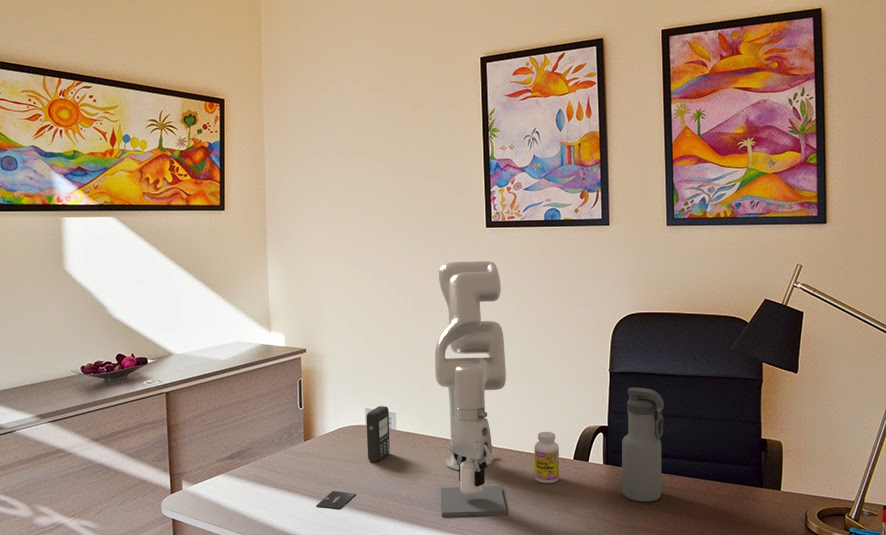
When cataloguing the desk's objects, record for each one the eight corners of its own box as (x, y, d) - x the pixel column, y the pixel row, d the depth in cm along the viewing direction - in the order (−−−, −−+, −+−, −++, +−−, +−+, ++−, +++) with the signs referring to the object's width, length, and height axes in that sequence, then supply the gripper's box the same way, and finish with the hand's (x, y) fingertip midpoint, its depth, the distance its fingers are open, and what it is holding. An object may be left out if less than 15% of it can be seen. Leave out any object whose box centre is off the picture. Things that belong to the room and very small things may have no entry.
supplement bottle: (532, 482, 202) (531, 436, 201) (538, 474, 209) (537, 429, 207) (556, 485, 200) (555, 439, 199) (561, 476, 206) (561, 431, 205)
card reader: (378, 463, 221) (377, 414, 219) (366, 461, 222) (364, 413, 221) (391, 453, 229) (390, 406, 228) (379, 452, 231) (378, 405, 229)
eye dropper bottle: (479, 496, 187) (478, 450, 186) (458, 494, 189) (457, 448, 188) (484, 490, 191) (483, 445, 190) (464, 488, 193) (462, 443, 192)
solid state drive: (315, 508, 190) (315, 505, 190) (332, 493, 199) (332, 490, 199) (340, 511, 188) (340, 508, 188) (356, 495, 197) (356, 493, 197)
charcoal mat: (441, 491, 198) (440, 487, 198) (500, 489, 198) (500, 485, 198) (441, 516, 182) (441, 512, 182) (506, 514, 182) (506, 510, 182)
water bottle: (666, 492, 193) (666, 387, 191) (658, 506, 185) (658, 396, 182) (627, 486, 198) (627, 383, 196) (618, 499, 190) (617, 392, 187)
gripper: (505, 415, 185) (506, 486, 186) (456, 404, 197) (457, 470, 198) (485, 422, 179) (487, 495, 181) (436, 410, 191) (438, 478, 193)
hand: (471, 481), depth 190 cm, fingers closed on eye dropper bottle, 4 cm apart
